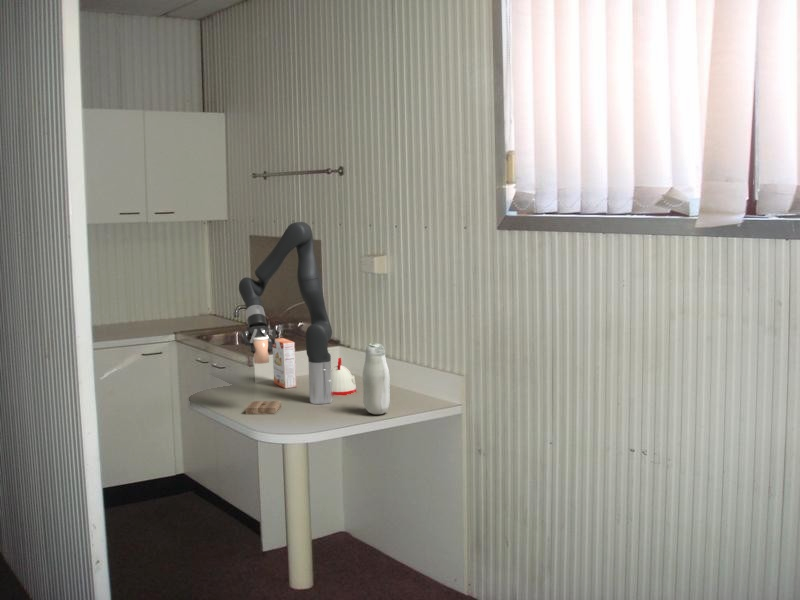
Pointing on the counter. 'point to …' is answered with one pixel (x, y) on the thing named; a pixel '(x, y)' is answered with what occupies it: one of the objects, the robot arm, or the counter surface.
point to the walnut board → (263, 407)
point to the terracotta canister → (261, 350)
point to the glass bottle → (376, 380)
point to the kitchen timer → (342, 380)
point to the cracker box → (284, 363)
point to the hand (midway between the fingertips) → (261, 351)
